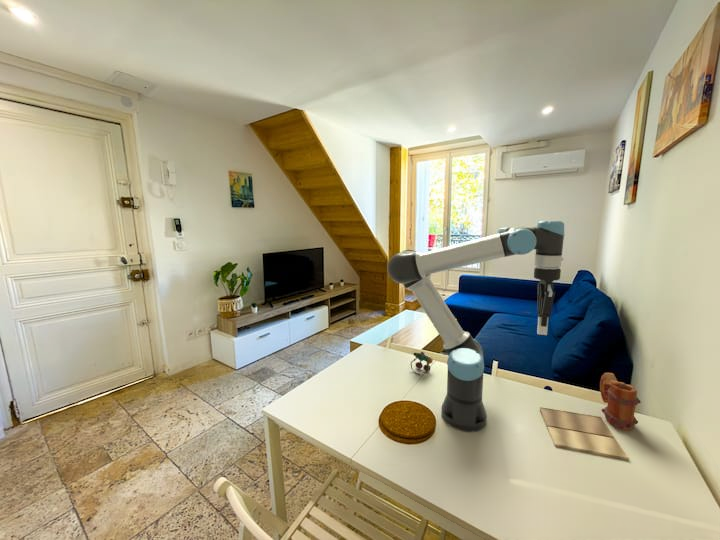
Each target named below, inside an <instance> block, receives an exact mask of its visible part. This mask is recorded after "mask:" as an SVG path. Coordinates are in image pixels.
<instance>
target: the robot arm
mask: <svg viewBox="0 0 720 540" xmlns="http://www.w3.org/2000/svg"><path fill="white" fill-rule="evenodd" d="M564 240H565V223H564V222H563V221H561V220H548V221H547V220H546V221H545V220H543V221H541V220H540V221H538V223H537V226H532V227H523V226H522V227H520V226H519V227H516V226H515V227H510V226H509V227H508V226H507V227H501V228H499V229H498V231H497V234H493V235H489V236H486V237H481V238H478V239H474V240H469V241H465V242H461V243H458V244H454V245H450V246H446V247H442V248H439V249H434V250H430V251H427V252H423V253H421V252H419V251H417V250H414V249H405V250H402V251H401V252H399V253H396V254H394V255H393V256H391V258H389V261H388V263H387V266H386V269H387V270H386V271H387V274H388V277H389V278H390V279H391V280H392V281H393V282H395V283H397V284H401V285H403V287H404V288H405V290H409V291H411V292H412V293H413V295H414V297H415V298H416V300H417V301H418V303H419V304H420V306H421V308H422V309H423V311H424V312H425V314H426V316H427V317H428V318H429V320H430V322H431V323H432V326H433V327H434V328H435V330H436V331H437V333H438V335H439V336H440V338H441V340H442V341H443V346H442V347H443V349H444V351H445V353H446V354H447V355H448V357H447V361H446V365H447V381H446V382H447V385H446V395H445V398H444V400H443V402H442V405H441V410H440V411H441V417H442V419H443V421H444V422H445V423H446V424H447V425H449V426H450V427H452V428H454V429H456V430H459V431H463V432H468V433H469V432H473V433H474V432H478V431H481V430H483V429H484V428H485V427H486V426H487V421H488V416H487V411H486V409H485V405H484V403H483V401H484V400H483V391H484V390H483V389H484V388H483V387H484V371H485V362H484V358H485V357H484V356H485V355H484V351H483V348H482V346H481V343H479V341H478V340H477V339H475V338H473V336H472V335H471V333H470V332H469V331H465V330H463V328H462V327H461V325H460V324H459V322H458V320H457V318H456V317H455V315H454V314H453V313H452V311H451V310H450V308H449V307H448V304H446V301H445V300H444V299H443V297H442V296H441V294H440V292H439V291H438V289H437V287H436V286H435V284H434V283H433V282H432V280H431V275H432V274H437V273H439V272H440V273H441V272H445V271H449V270H452V269H453V270H454V269H457V268H462V267H466V266H471V265H476V264H481V263H484V262H488V261H492V260H497V259H500V258H506V257H511V256H515V255H516V256H517V255H520V256H523V255H527V254H529V253H531V252H532V251H533V250H535V254H534V255H535V256H534V266H535V267H534V269H533V270H534V272H533V278H534V279H535V280H539V282H538V283H537V285H536V286H537V287H536V289H537V292H536V293H537V296H536V297H537V298H536V299H537V300H536V301H537V304H536V305H537V306H536V312H537V328H536V333H537V335H541V336H542V335H543V336H547V335H548V327H549V318H551V317H552V313H553V312H552V311H553V306H554V299H555V296H556V291H555V285H554V281H559V280H560V279H561V273H562V269H561V267H562V261H564V257H563V247H564Z"/></svg>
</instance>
